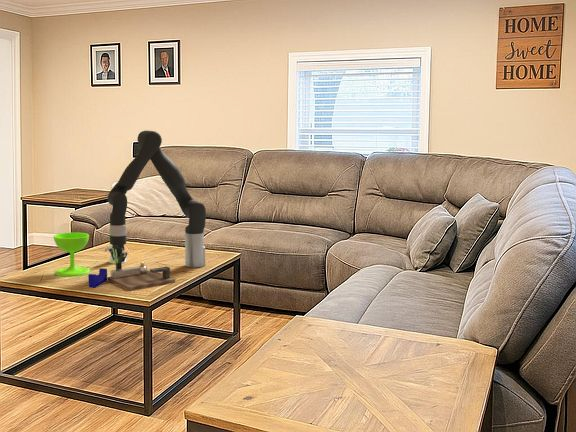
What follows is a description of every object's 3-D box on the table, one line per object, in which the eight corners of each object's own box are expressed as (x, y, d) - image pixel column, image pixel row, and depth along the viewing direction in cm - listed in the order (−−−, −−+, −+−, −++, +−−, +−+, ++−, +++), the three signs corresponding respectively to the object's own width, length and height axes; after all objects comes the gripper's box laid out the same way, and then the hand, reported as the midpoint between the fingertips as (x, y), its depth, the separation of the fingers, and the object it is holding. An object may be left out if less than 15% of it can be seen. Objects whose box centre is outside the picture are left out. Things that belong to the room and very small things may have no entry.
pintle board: (152, 273, 302) (152, 260, 301) (175, 282, 287) (175, 268, 286) (107, 280, 287) (107, 266, 286) (129, 290, 272) (129, 276, 271)
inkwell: (130, 260, 327) (129, 241, 326) (114, 268, 310) (114, 248, 308) (113, 259, 329) (113, 240, 327) (97, 267, 311) (97, 247, 310)
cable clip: (98, 280, 287) (97, 268, 286) (107, 281, 286) (107, 268, 285) (85, 287, 275) (85, 274, 274) (95, 288, 275) (94, 275, 274)
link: (144, 271, 299) (144, 261, 298) (149, 272, 296) (148, 263, 295) (109, 276, 287) (109, 266, 287) (114, 278, 284) (114, 268, 283)
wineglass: (48, 272, 299) (47, 235, 296) (78, 266, 311) (77, 231, 308) (66, 278, 289) (64, 240, 286) (96, 272, 301) (95, 235, 298)
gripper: (132, 235, 290) (133, 271, 292) (118, 231, 299) (118, 266, 302) (117, 237, 284) (118, 274, 287) (103, 232, 294) (104, 268, 297)
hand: (118, 270), depth 294 cm, fingers closed
